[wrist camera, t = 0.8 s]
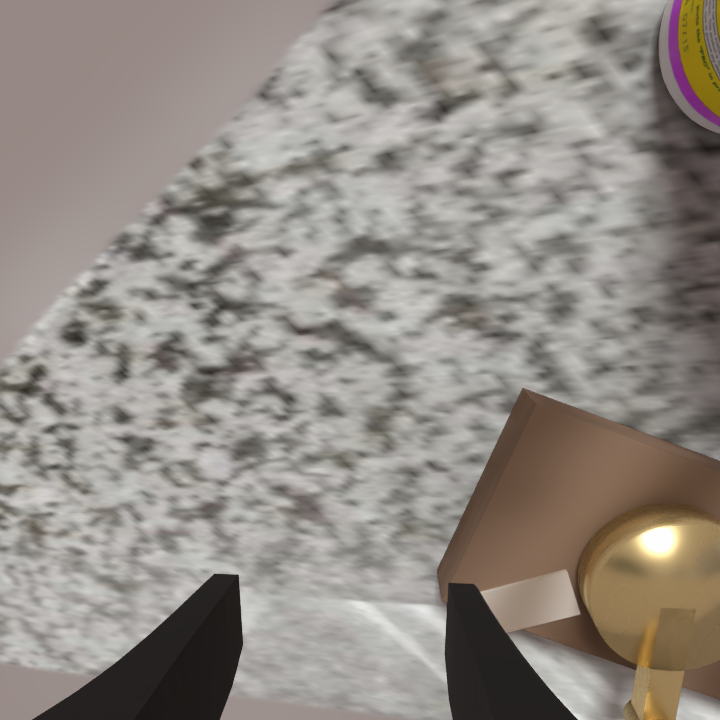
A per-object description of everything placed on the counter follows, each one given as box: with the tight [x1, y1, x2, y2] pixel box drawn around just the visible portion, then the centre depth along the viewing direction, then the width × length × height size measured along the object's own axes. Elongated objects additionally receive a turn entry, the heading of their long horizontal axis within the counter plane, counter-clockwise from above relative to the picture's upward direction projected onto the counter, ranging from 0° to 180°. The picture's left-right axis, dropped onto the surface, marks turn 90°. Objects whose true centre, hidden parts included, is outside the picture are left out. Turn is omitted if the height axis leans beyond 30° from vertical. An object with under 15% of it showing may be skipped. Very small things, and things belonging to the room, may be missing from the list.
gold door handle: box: [578, 503, 720, 720], centre depth 18 cm, size 10×6×4 cm, turn 0°
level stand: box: [437, 388, 720, 700], centre depth 20 cm, size 14×10×4 cm
